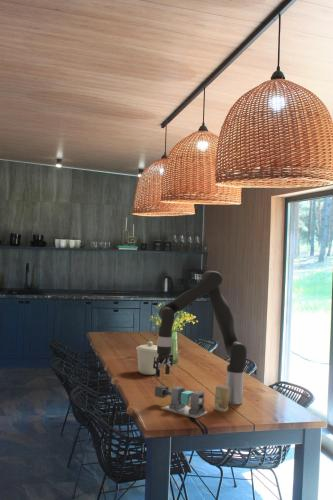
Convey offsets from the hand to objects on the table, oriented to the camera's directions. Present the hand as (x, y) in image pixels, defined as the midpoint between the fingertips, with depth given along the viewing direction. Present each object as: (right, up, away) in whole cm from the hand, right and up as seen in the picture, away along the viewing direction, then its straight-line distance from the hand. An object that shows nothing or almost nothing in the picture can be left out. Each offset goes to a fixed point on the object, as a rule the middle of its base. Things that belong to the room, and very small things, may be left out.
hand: (162, 375), depth 269 cm
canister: (-10, -16, +68) cm, 71 cm away
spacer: (+13, -12, -10) cm, 20 cm away
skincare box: (+31, -17, -3) cm, 36 cm away
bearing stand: (+12, -16, -9) cm, 22 cm away
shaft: (+9, -11, -7) cm, 16 cm away
